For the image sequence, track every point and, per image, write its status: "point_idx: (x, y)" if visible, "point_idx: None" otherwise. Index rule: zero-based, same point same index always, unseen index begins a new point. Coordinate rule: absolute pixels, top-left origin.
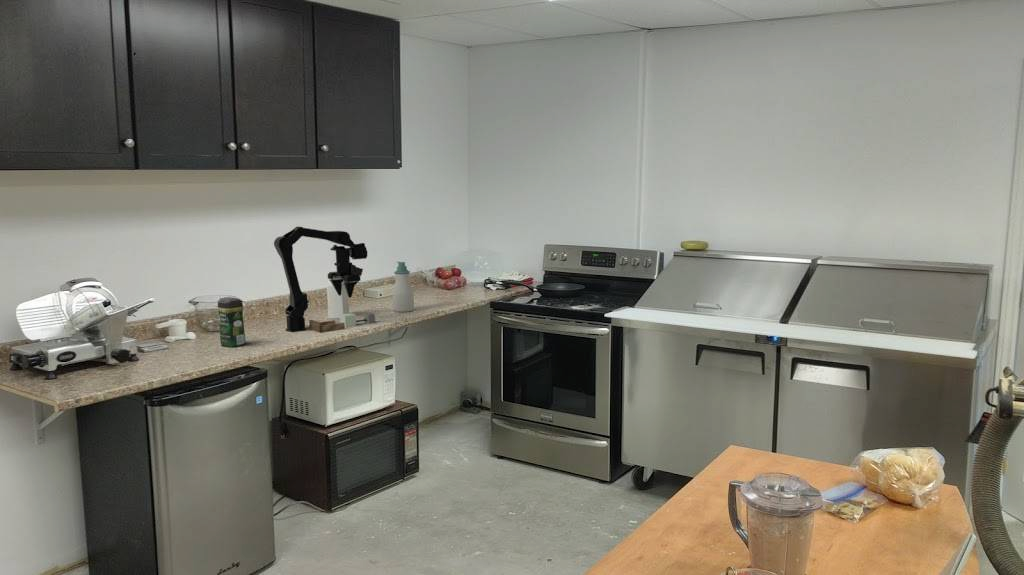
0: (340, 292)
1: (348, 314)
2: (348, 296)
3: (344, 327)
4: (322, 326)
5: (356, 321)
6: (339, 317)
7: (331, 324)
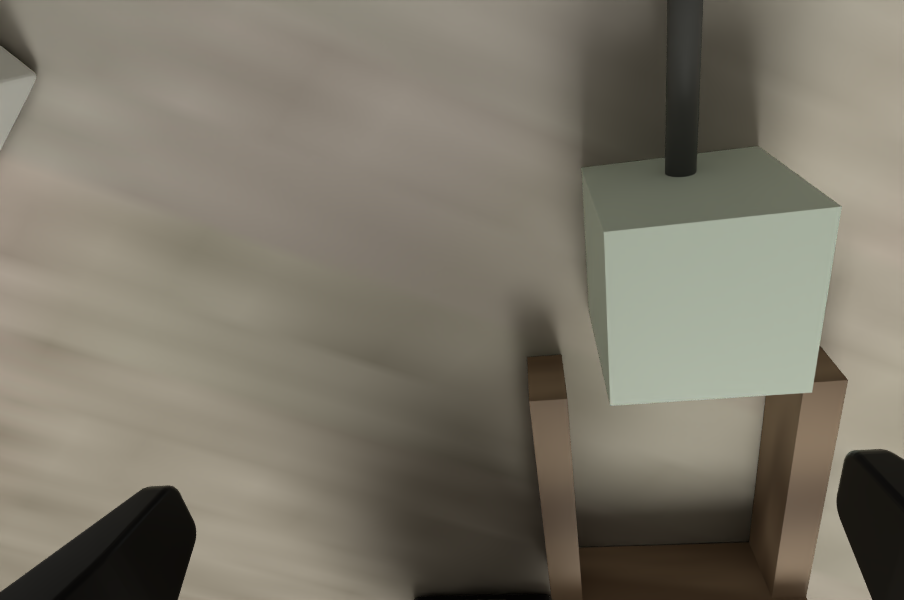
0: (132, 571)
1: (713, 298)
2: (864, 552)
3: (819, 347)
4: (803, 594)
5: (697, 118)
6: (5, 121)
7: (799, 514)
